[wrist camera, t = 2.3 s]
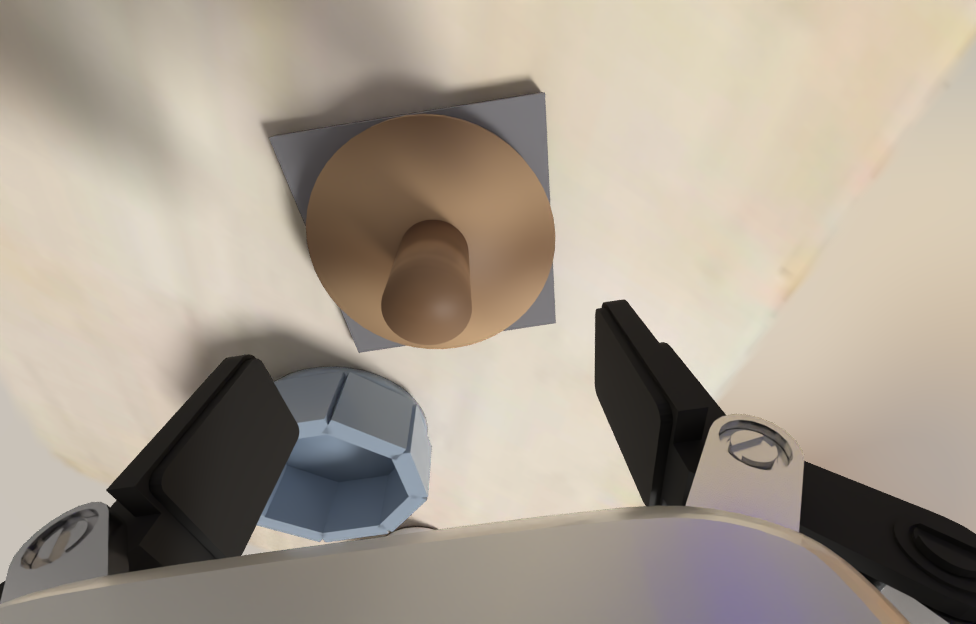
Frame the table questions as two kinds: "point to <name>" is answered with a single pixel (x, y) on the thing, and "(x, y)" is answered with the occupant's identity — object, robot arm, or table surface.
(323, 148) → the mat
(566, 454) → the table surface
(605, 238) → the table surface
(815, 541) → the robot arm
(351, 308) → the lid
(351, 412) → the bowl
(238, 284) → the table surface
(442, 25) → the table surface
